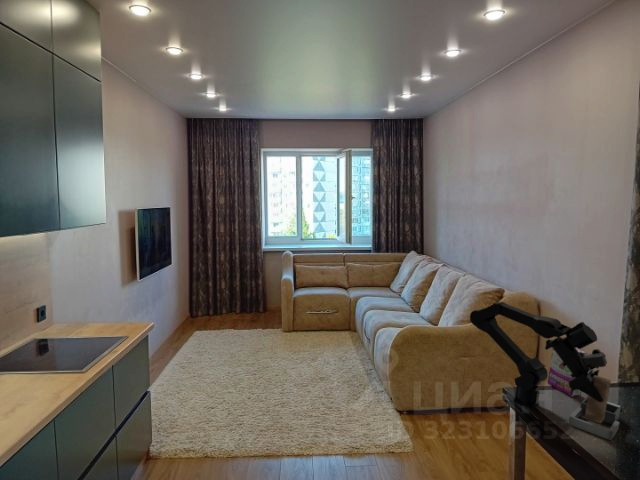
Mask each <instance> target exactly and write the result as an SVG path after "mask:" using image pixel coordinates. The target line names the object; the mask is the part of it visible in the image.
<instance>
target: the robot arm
mask: <svg viewBox="0 0 640 480" xmlns="http://www.w3.org/2000/svg"><path fill="white" fill-rule="evenodd" d="M498 316H502V317H505V318H507V319H509V320H512V321H514V322H517V323H519V324H522V325H524V326H526V327H528V328H530V329H531V330H532V331H533V332H534V333H536V334H537V335H539V336H541V337H542V338H544V339H547V340H546V341H545V347H544V349H545V350H546V351H547V350H549V349H551V348H552V350H553V349H554V351H555V352H556V353H557V355H558V356H559V357H560V358H561V360H562V361H563V363H562V365H563V366H567V368H568V369H569V370H570V372H571V373H572V374H571V376H572V378H571V379H570V381H569V387H570V388H571V389H572V391H574V390H576V389H577V390H580V391H582V392H581V393H584V394H586V395H587V396H588V395H589V396H591V397H592V398H594V399H595V400H597V401H599V402H602V401H603V399H602V397H601V395H600V394H599V392H598V390H597V388H596V387H595V385H594V381H595V378H593V379H592V377H593V376H594V375H596V376H599V374H600V369H599V368H604V367H606V365H607V364H608V362H607V359H606V354H605V353H604V351H603V352H602V351H601V350H600V349H599V348H595V349H592V351H591V353H589V354H587V355H584V354H583V353H582V352H578V351H577V349H579V350H581V349H582V350H583V348H585V347H587V346H589V345H591V344H593V343H595V342H597V341H598V337H597V333H596V332H595V331H594V329H592V328H591V327H590V326H588V325H587V324H586V323H584V321H581V322H578V323H577V324H576V325H574V326H573V327H571V326H568V325H565V324H563V323H562V322H561V321H560V320H559V319H557V318H553V317H549V316H544V315H543V316H540V315H536V314H533V313H531V312H528V311H526V310H523V309H521V308H518V307H515V306H513V305H510V304H507V303H506V302H503V301H498V302H494V303H493V304H491V305H490V306H487V307H483V308H479V309H476V310H473V311H471V312H470V315H469V318H470V319H469V321H470V323H471V324H472V325H473V326H475V327H476V328H477V329H478V330H480V331H482V332H484V333H486V334H488V336H489V337H490V338H491V339H492V340H493V342H495V343H496V344H497V345H498V346H499V348H500V349H501V350H502V351H503V352H504V353H505V354H506V356H508V358H509V359H510V360H511V361H512V362H513V363H514V364H515V366H516V367H517V368H516V369H517V371H518V374H519V376H517V377H515V378H514V383H515V386H516V389H515V395H514V396H515V397H514V398H513V399H512V401H513V402H516V403H519V404H521V405H523V406H526V407H528V408H533V407H534V406H536V405H537V404H539V398H540V390H539V387H540V386H539V385H541V383H543V382H544V381H546V380H547V379H548V377H549V372H548V370H547V369H546V365H545V364H544V363H543V362H541V361H540V359H539V358H538V357H536V356H535V357H532V358H531V357H529V356H527V353H525V352H524V351H523V350H522V349H521V348H520V347H519V346H518V345H517V344H516V343H515V341H513V340H512V338H510V336H508V334H507V333H506V332H505V331H504V330H503V329H502V327H500V326H499V324H498V321H497V318H496V317H498ZM552 338H554V339H553V340H552ZM576 348H577V349H576ZM595 369H597V370H595Z"/></svg>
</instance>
